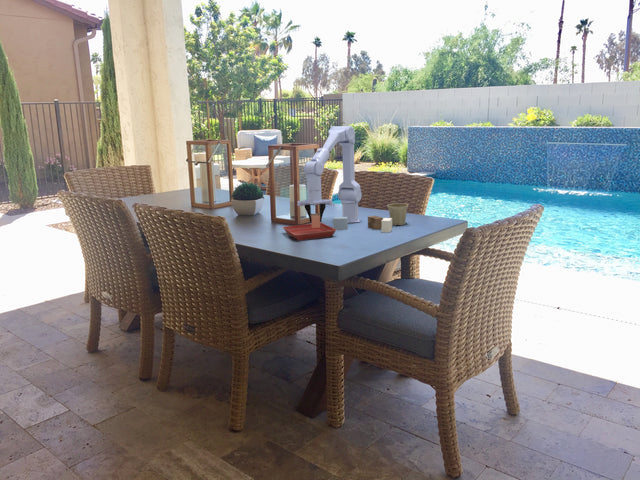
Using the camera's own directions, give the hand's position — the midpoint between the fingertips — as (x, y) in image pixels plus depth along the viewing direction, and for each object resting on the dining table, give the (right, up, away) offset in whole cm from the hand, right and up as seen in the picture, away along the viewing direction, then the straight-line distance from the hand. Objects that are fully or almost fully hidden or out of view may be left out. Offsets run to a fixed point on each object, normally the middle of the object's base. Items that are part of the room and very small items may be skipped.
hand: (315, 222), depth 223 cm
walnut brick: (+26, -3, +6) cm, 27 cm away
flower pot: (+37, -1, +13) cm, 39 cm away
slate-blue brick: (+11, -3, +7) cm, 13 cm away
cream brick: (+30, -4, +1) cm, 30 cm away
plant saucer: (-3, -6, -2) cm, 7 cm away
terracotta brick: (0, -2, 0) cm, 2 cm away
